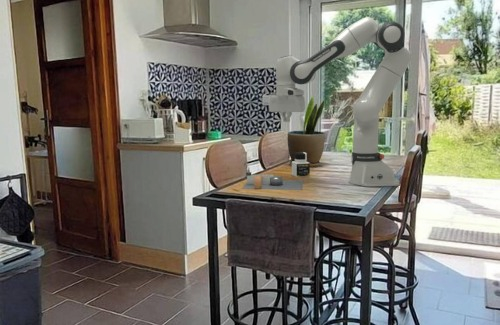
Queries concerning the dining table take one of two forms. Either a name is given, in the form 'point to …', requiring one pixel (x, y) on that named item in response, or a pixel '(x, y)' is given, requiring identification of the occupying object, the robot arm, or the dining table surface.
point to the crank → (265, 179)
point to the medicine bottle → (300, 165)
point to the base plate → (285, 186)
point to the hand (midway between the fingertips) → (286, 121)
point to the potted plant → (308, 136)
